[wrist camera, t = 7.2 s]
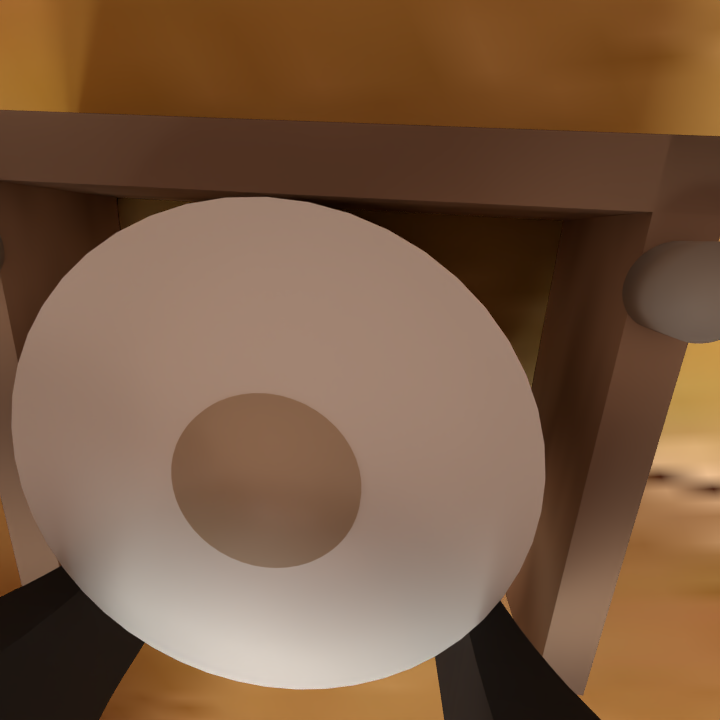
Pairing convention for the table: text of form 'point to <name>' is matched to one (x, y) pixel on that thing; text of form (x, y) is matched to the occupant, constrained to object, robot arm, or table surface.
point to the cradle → (429, 196)
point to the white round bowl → (278, 443)
